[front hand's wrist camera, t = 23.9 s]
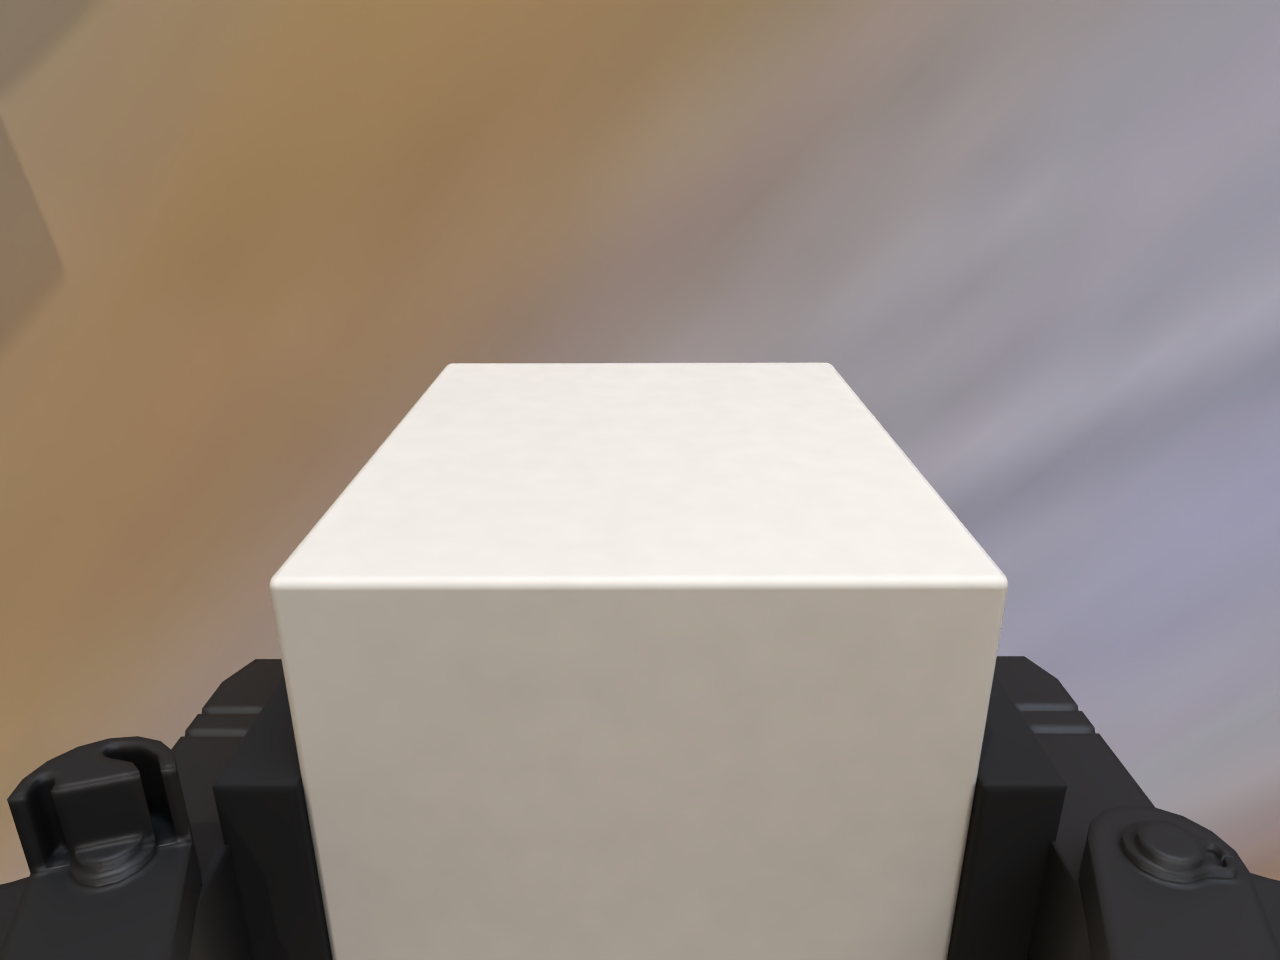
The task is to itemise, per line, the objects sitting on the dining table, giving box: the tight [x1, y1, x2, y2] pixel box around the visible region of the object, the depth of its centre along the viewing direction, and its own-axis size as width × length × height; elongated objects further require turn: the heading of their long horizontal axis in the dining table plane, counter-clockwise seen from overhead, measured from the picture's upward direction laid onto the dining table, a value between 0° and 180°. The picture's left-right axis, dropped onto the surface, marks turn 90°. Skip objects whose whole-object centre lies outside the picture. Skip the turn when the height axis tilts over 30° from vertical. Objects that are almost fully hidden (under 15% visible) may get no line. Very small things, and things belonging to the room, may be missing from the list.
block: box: [270, 363, 1008, 960], centre depth 12 cm, size 6×6×8 cm
